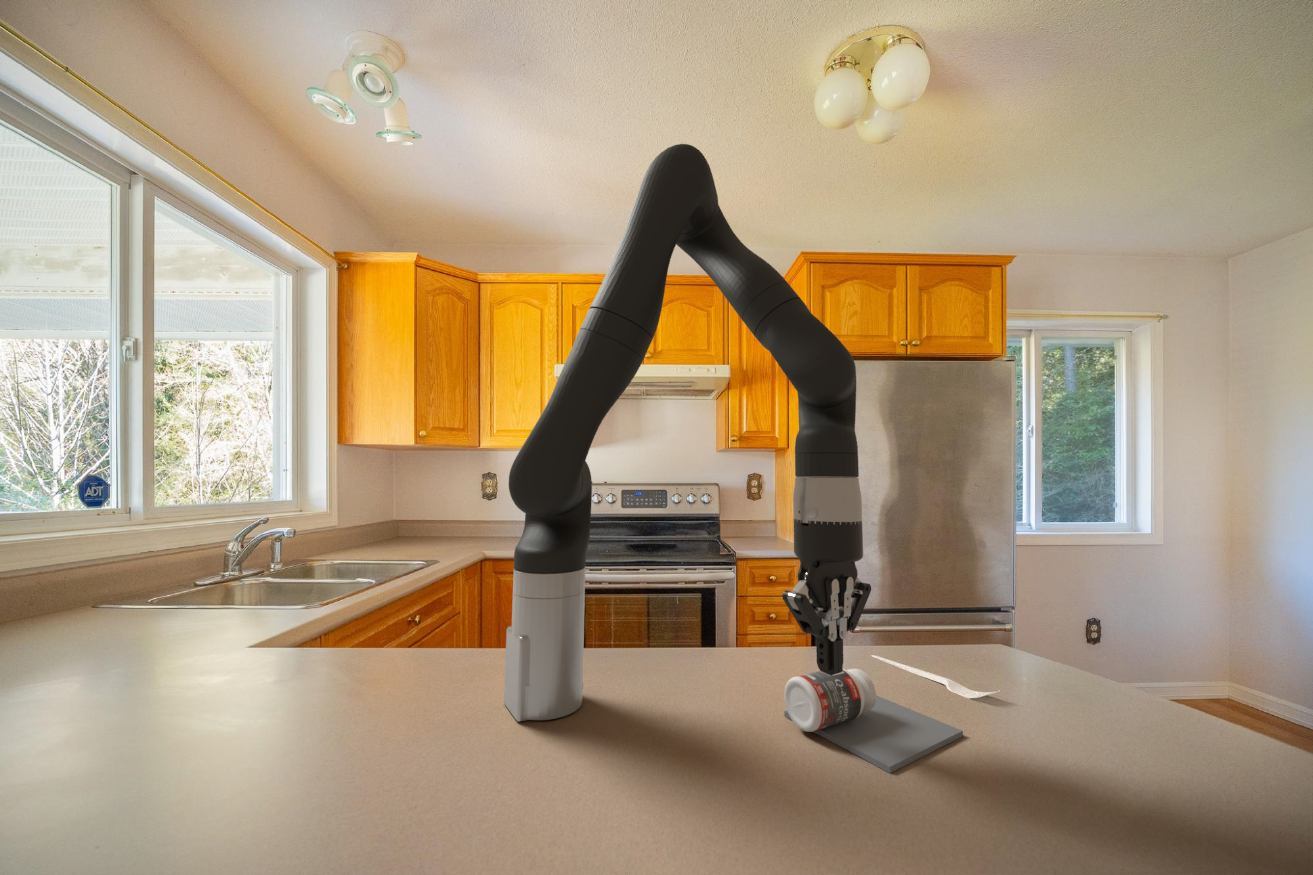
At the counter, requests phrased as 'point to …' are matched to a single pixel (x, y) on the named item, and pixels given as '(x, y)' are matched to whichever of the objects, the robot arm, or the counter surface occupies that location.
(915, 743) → the mat
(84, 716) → the counter surface
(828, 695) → the pill bottle
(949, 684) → the fork
